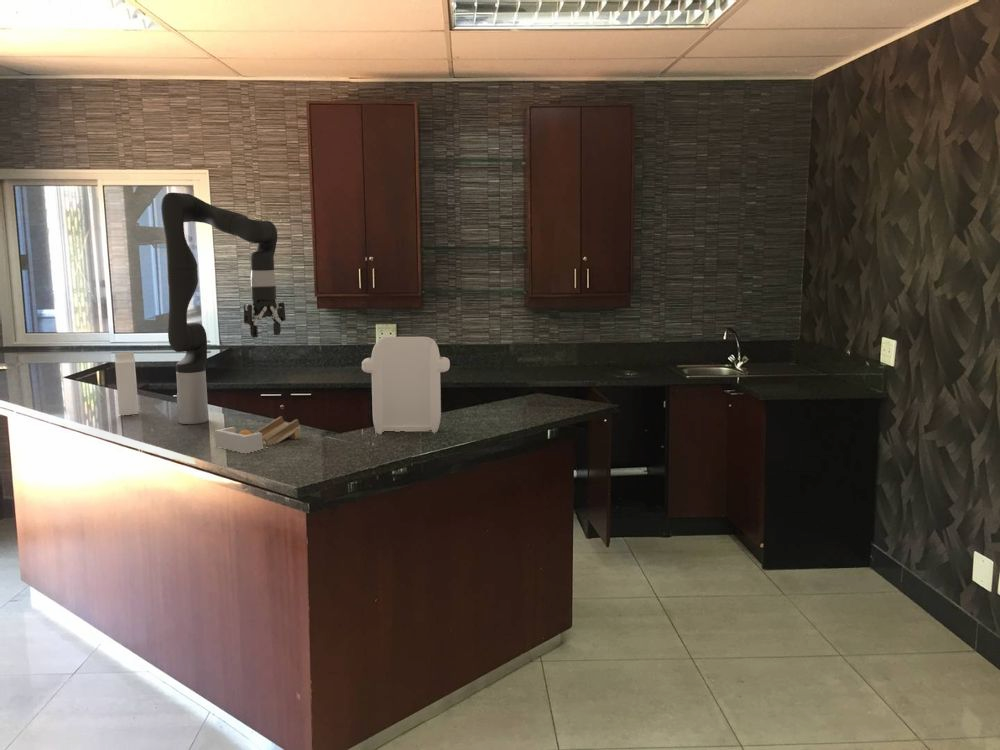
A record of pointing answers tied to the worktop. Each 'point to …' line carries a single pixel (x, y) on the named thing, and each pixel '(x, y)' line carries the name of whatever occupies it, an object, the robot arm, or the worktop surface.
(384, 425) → the toaster
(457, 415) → the worktop surface
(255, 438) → the backstop
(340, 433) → the worktop surface
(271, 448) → the worktop surface
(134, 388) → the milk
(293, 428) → the ramp
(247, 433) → the ball
